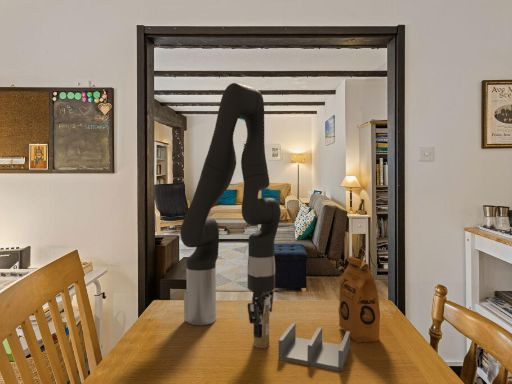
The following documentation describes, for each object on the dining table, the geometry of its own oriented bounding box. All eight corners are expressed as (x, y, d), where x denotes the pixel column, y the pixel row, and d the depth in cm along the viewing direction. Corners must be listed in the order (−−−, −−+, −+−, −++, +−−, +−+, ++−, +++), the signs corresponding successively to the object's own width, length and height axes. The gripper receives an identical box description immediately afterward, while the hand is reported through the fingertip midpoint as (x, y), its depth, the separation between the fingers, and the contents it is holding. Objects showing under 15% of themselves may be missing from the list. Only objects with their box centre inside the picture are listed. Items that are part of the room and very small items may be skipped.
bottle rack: (278, 359, 96) (278, 340, 96) (292, 340, 107) (292, 322, 107) (342, 371, 90) (342, 351, 90) (349, 349, 101) (350, 331, 101)
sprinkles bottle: (272, 345, 104) (273, 297, 103) (259, 350, 101) (259, 300, 101) (263, 339, 108) (263, 292, 107) (249, 343, 105) (249, 295, 104)
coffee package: (351, 345, 104) (352, 265, 103) (335, 327, 117) (335, 255, 116) (385, 342, 106) (386, 264, 105) (365, 325, 118) (366, 254, 117)
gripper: (258, 264, 111) (258, 321, 112) (237, 276, 98) (237, 341, 99) (282, 266, 109) (282, 325, 109) (264, 279, 95) (264, 346, 96)
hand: (261, 333), depth 104 cm, fingers closed on sprinkles bottle, 4 cm apart
